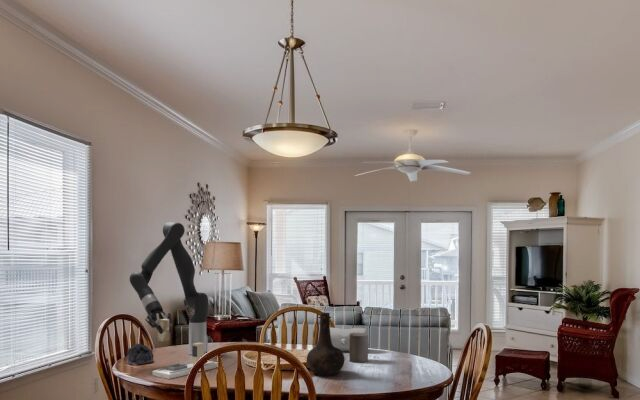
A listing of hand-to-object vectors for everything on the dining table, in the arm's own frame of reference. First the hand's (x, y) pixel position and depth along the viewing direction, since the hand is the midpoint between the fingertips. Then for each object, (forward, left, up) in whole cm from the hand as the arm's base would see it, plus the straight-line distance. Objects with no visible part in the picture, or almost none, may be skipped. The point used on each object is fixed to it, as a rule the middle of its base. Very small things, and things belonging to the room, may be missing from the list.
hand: (166, 332), depth 278 cm
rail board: (-5, +10, -18) cm, 21 cm away
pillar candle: (-73, +63, -18) cm, 98 cm away
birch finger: (0, -2, -4) cm, 5 cm away
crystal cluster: (-3, -25, -18) cm, 31 cm away
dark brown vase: (-41, +66, -18) cm, 79 cm away
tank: (-88, +43, -18) cm, 100 cm away
